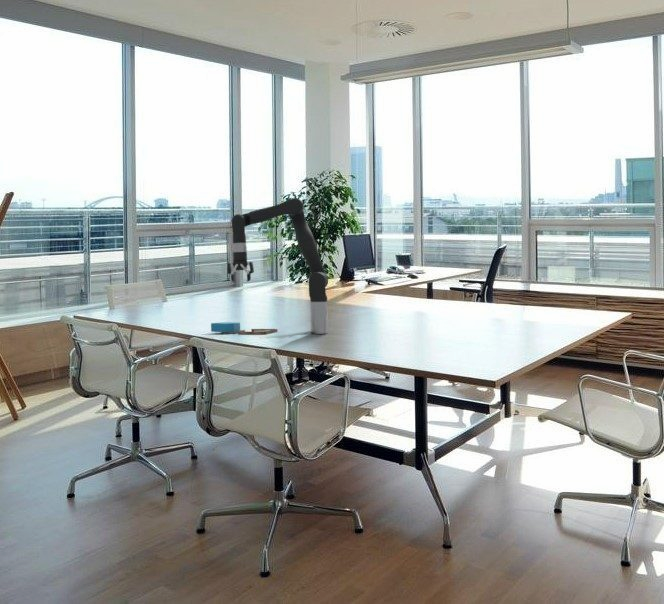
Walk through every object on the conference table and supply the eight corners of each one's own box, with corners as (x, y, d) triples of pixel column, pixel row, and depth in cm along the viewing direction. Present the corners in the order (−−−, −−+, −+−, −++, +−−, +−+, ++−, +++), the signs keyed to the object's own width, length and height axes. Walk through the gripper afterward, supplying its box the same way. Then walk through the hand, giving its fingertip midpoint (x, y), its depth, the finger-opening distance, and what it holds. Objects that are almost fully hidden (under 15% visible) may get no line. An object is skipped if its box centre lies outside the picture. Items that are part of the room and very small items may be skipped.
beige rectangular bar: (273, 334, 394) (273, 330, 394) (255, 335, 391) (255, 331, 391) (272, 333, 397) (272, 330, 397) (254, 334, 394) (254, 330, 394)
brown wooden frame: (278, 331, 400) (277, 328, 400) (265, 334, 380) (265, 331, 380) (252, 331, 403) (252, 328, 403) (238, 334, 384) (238, 331, 384)
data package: (227, 321, 403) (241, 322, 395) (227, 330, 403) (241, 331, 395) (209, 323, 394) (223, 323, 386) (209, 331, 395) (224, 332, 387)
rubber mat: (245, 332, 401) (245, 330, 401) (235, 334, 388) (235, 332, 388) (231, 331, 403) (231, 330, 403) (221, 334, 390) (221, 332, 390)
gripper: (254, 251, 400) (255, 280, 401) (230, 252, 404) (231, 281, 404) (249, 250, 393) (251, 281, 394) (224, 252, 396) (226, 282, 397)
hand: (241, 281), depth 399 cm, fingers open, 8 cm apart
